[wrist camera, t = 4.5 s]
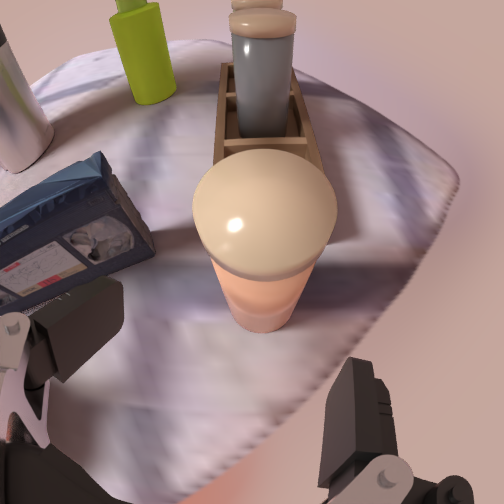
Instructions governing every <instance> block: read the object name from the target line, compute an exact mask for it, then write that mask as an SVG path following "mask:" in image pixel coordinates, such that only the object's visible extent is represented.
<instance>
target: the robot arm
mask: <svg viewBox="0 0 504 504" xmlns="http://www.w3.org/2000/svg"><path fill="white" fill-rule="evenodd" d="M53 136H54V129H53V127H52V126H51V124H50V122H49V121H48V119H47V117H46V115H45V114H44V112H43V110H42V108H41V106H40V105H39V103H38V101H37V99H36V97H35V96H34V94H33V92H32V90H31V88H30V86H29V84H28V83H27V81H26V79H25V77H24V75H23V73H22V71H21V69H20V67H19V65H18V63H17V61H16V58H15V56H14V54H13V53H12V50H11V48H10V46H9V43H8V41H7V39H6V37H5V34H4V32H3V30H2V27H1V25H0V166H1V167H2V168H3V169H4V170H9V172H10V173H18V172H20V171H22V170H24V169H26V168H27V167H29V166H30V165H31V164H32V163H34V162H35V161H36V160H37V159H38V158H39V157H40V156H41V155H42V153H43V152H44V151H45V150H46V149H47V147H48V146H49V144H50V143H51V141H52V139H53ZM123 322H124V299H123V285H122V283H121V282H119V281H117V280H115V279H112V278H110V277H108V276H105V275H102V276H100V277H98V278H96V279H95V280H93V281H92V282H90V283H87V284H83V285H79V286H76V287H75V288H73V289H71V290H70V291H68V292H66V294H63V295H61V296H60V297H58V299H55V300H53V301H52V302H50V303H49V304H47V305H45V306H44V307H42V308H41V309H39V310H38V311H36V312H35V313H33V314H31V315H30V316H28V317H27V316H26V315H25V314H23V313H19V312H11V313H7V314H4V315H2V316H1V317H0V504H132V503H128V502H125V501H121V500H118V499H116V498H113V497H112V496H110V495H109V494H108V493H107V492H106V491H105V490H104V489H103V488H102V487H101V486H100V485H99V484H97V483H96V482H95V481H94V480H93V479H92V478H91V477H90V475H89V474H88V473H87V472H86V471H85V470H84V469H83V468H82V467H81V466H80V465H78V464H77V463H76V462H74V461H73V460H71V459H70V458H69V457H67V456H66V455H65V454H63V453H62V452H61V451H59V450H58V449H57V448H56V447H54V446H53V445H52V444H51V443H50V439H49V436H48V433H47V410H48V398H49V388H50V383H49V380H48V379H49V378H50V377H52V376H54V377H55V378H57V379H58V380H59V381H61V382H62V383H64V382H65V381H66V380H67V379H68V378H69V377H70V376H71V375H73V374H74V373H75V372H76V371H77V370H78V369H79V368H80V367H81V366H82V365H83V364H84V363H85V362H86V361H88V360H89V359H90V358H91V357H92V356H93V355H94V354H95V353H96V352H97V351H98V350H100V349H101V348H102V347H103V346H104V345H105V344H106V343H107V342H108V341H109V340H110V339H112V338H113V337H114V336H115V335H116V334H117V333H118V332H119V331H120V329H121V327H122V325H123ZM390 405H391V400H390V395H389V391H388V389H387V388H386V386H385V384H384V383H383V381H382V380H381V379H376V378H374V372H373V365H372V362H371V361H366V360H362V359H357V358H353V357H349V358H348V359H347V360H346V362H345V364H344V365H343V367H342V369H341V371H340V373H339V375H338V377H337V378H336V380H335V382H334V384H333V386H332V387H331V389H330V392H329V394H328V397H327V401H326V408H325V422H324V434H323V444H322V454H321V463H320V471H319V479H318V487H320V488H327V489H329V494H328V498H327V499H325V500H324V501H323V502H322V503H321V504H474V497H473V491H472V488H471V486H470V484H469V483H468V481H467V480H466V479H464V478H463V477H460V476H457V475H455V476H454V475H453V476H449V477H446V478H445V479H443V480H442V481H441V482H439V483H438V484H437V483H433V482H429V481H426V480H422V479H420V478H417V477H414V476H413V472H412V469H411V468H410V466H409V465H408V463H407V462H406V461H404V460H403V459H401V458H400V457H398V450H397V441H396V434H395V426H394V419H393V417H392V407H391V406H390Z"/></svg>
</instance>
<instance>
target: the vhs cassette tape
mask: <svg viewBox="0 0 504 504" xmlns="http://www.w3.org/2000/svg"><path fill="white" fill-rule="evenodd" d="M155 252H156V251H155V249H154V245H153V240H152V237H151V234H150V230H149V228H148V226H147V225H146V224H145V222H144V221H143V220H142V218H141V215H140V213H139V212H138V211H137V209H136V208H135V206H134V205H133V203H132V201H131V200H130V198H129V197H128V196H127V193H126V191H125V190H124V188H123V187H122V185H121V184H120V182H119V181H118V178H117V177H116V175H115V174H112V168H111V167H110V165H109V164H108V162H107V160H106V158H105V156H104V155H103V153H102V152H101V151H98V152H96V153H94V154H93V155H92V156H91V157H90V158H88V159H86V160H84V161H78V162H76V163H74V164H72V165H70V166H68V167H66V168H64V169H62V170H60V171H58V172H57V173H55V174H53V175H52V176H50V177H48V178H47V179H45V180H43V181H42V182H40V183H39V184H37V185H35V186H33V187H31V188H29V189H28V190H26V191H25V192H23V193H21V194H20V195H18V196H17V197H15V198H14V199H12V200H11V201H10V202H8V203H7V204H5V205H4V206H2V207H1V208H0V316H2V315H4V314H7V313H11V312H21V311H24V310H26V309H28V308H31V307H33V306H35V305H38V304H40V303H42V302H45V301H47V300H49V299H52V298H54V297H56V296H59V295H61V294H63V293H66V292H68V291H70V290H71V289H73V288H75V287H76V286H79V285H83V284H87V283H90V282H92V281H93V280H95V279H96V278H98V277H100V276H102V275H105V276H107V275H109V274H111V273H114V272H116V271H119V270H121V269H124V268H126V267H129V266H131V265H134V264H136V263H139V262H141V261H143V260H146V259H148V258H152V257H154V256H155Z"/></svg>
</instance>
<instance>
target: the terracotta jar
mask: <svg viewBox="0 0 504 504" xmlns="http://www.w3.org/2000/svg"><path fill="white" fill-rule="evenodd" d="M192 211H193V218H194V221H195V225H196V227H197V230H198V233H199V236H200V238H201V241H202V244H203V246H204V248H205V250H206V251H207V253H208V254H209V256H210V257H211V260H212V263H213V266H214V268H215V271H216V274H217V277H218V279H219V282H220V285H221V287H222V290H223V293H224V295H225V298H226V300H227V303H228V306H229V308H230V311H231V313H232V316H233V317H234V319H235V320H236V322H237V323H238V324H239V325H240V326H242V327H243V328H245V329H246V330H248V331H251V332H254V333H269V332H273V331H275V330H277V329H279V328H281V327H282V326H283V325H284V324H285V323H286V322H287V321H288V320H289V318H290V317H291V315H292V313H293V311H294V308H295V306H296V304H297V302H298V300H299V298H300V296H301V294H302V291H303V289H304V287H305V285H306V283H307V281H308V278H309V276H310V274H311V272H312V270H313V267H314V265H315V263H316V261H317V259H318V258H319V257H320V255H321V254H322V252H323V251H324V249H325V247H326V245H327V242H328V240H329V238H330V236H331V233H332V231H333V229H334V226H335V223H336V219H337V200H336V196H335V193H334V190H333V188H332V186H331V184H330V182H329V181H328V179H327V178H326V176H325V175H324V174H323V173H322V172H321V171H320V170H319V169H318V168H317V167H316V166H314V165H313V164H312V163H310V162H309V161H307V160H305V159H304V158H302V157H299V156H297V155H295V154H292V153H289V152H286V151H281V150H275V149H253V150H247V151H243V152H239V153H236V154H233V155H231V156H228V157H227V158H225V159H223V160H221V161H220V162H218V163H217V164H215V165H214V166H213V167H212V168H210V169H209V170H208V171H207V173H206V174H205V175H204V176H203V178H202V179H201V180H200V182H199V184H198V186H197V188H196V191H195V194H194V197H193V205H192Z"/></svg>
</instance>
